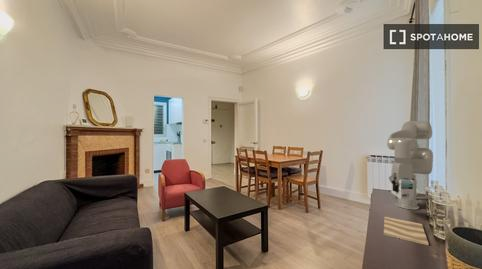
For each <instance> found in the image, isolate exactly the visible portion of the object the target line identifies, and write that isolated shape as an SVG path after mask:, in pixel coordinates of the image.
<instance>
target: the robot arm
mask: <svg viewBox="0 0 482 269" xmlns="http://www.w3.org/2000/svg"><path fill="white" fill-rule="evenodd" d="M432 136H433V128H432V125H431V123H430V122H429V121H427V120H412V121H411V120H410V121H409V120H408V121H406V122H404V123H403V125H402V127H401V129H400V130H397V131H395V132H392V133H391V134H390V135H389V136H388V138H387V142H386V144H387V148H388V149H389V150H392V151H394V160H393V161H394V162H393V164H392V166H391V174H390V176H389V177H388V179H389V182H390V184H391V183H392V184H393V191H395V192H398V191H399V186H398V181H399V180H400V179H411V180H413V181H414V200H413V199H400V198H399V197H397V198H398V199H396V200H395V201H394V205H395V206H396V207H398V208H401V209H406V210H412V211H413V210H415V211H416V210H419V209H420V206H419V204H422V203H423V201H422V200H421V199H417V186H418V185H417V183H418V182H417V181H418V180H417V178H416V175H415V174H418V175H419V174H420V175H430V174H431V173H432V171H433V167H434V166H433V165H434V164H433V162H434V152H433V151H432V149H430V148H426V147H420V146H419V142H418V140H430V139H431V138H432ZM396 178H397V179H396ZM395 181H396V182H395Z"/></svg>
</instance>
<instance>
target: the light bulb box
mask: <svg viewBox="0 0 482 269" xmlns="http://www.w3.org/2000/svg"><path fill="white" fill-rule="evenodd" d="M396 179H397V178H396ZM395 182H396V181H395ZM390 184H391V187H390V188H391V189H390V191H391V192H390V193H391V194H393V195H394V197H396V196H397V198H398V197H399V198H400V199H413V200H414V181H413V180H411V179H400V180H399V181H398V186H399V191H398V192H395V191H393V184H392V183H391V182H390Z"/></svg>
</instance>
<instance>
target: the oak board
mask: <svg viewBox="0 0 482 269" xmlns="http://www.w3.org/2000/svg"><path fill="white" fill-rule="evenodd" d="M383 220H384V221H383V236H386V237H392V238H395V237H396V239H399V238H400V240H404V241H408V242H412V243H417V244H420V245H421V244H422V245H426V246H429V242H428V241H429V240H428V239H427V234H426V232H425V230H424V226H423V224H422V223H418V222H414V221H410V220H409V221H408V220H403V219H398V218H393V217H388V216H384V218H383Z"/></svg>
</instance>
